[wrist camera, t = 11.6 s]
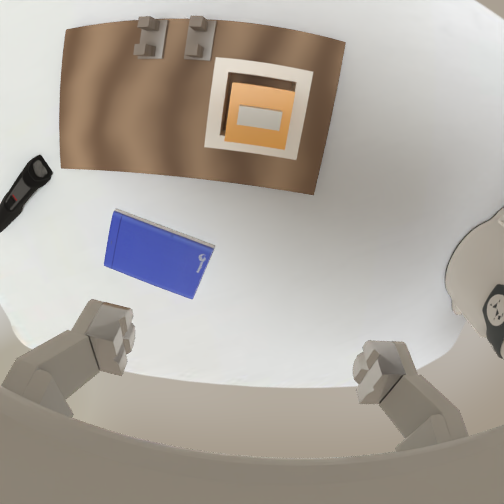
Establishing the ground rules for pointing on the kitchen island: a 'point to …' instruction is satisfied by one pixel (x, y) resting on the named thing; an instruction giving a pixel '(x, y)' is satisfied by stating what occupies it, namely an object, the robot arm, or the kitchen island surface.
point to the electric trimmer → (23, 189)
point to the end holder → (227, 66)
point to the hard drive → (156, 254)
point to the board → (185, 98)
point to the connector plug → (259, 115)
